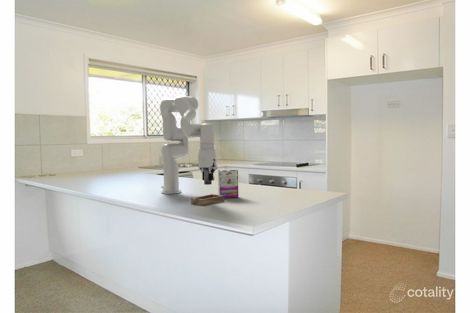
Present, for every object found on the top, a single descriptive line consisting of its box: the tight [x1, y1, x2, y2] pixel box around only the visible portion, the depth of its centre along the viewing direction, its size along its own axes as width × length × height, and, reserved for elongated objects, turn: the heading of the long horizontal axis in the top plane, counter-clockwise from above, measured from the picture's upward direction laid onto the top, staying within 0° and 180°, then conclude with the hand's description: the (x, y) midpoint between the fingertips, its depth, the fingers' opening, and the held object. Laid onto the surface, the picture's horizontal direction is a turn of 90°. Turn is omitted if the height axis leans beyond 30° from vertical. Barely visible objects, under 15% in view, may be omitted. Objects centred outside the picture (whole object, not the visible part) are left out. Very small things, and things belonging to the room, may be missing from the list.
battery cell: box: [203, 168, 213, 186], centre depth 186 cm, size 4×4×10 cm
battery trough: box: [190, 193, 225, 207], centre depth 187 cm, size 9×16×3 cm, turn 140°
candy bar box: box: [217, 168, 239, 199], centre depth 201 cm, size 11×5×16 cm, turn 105°
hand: (207, 179), depth 186 cm, fingers closed on battery cell, 4 cm apart
